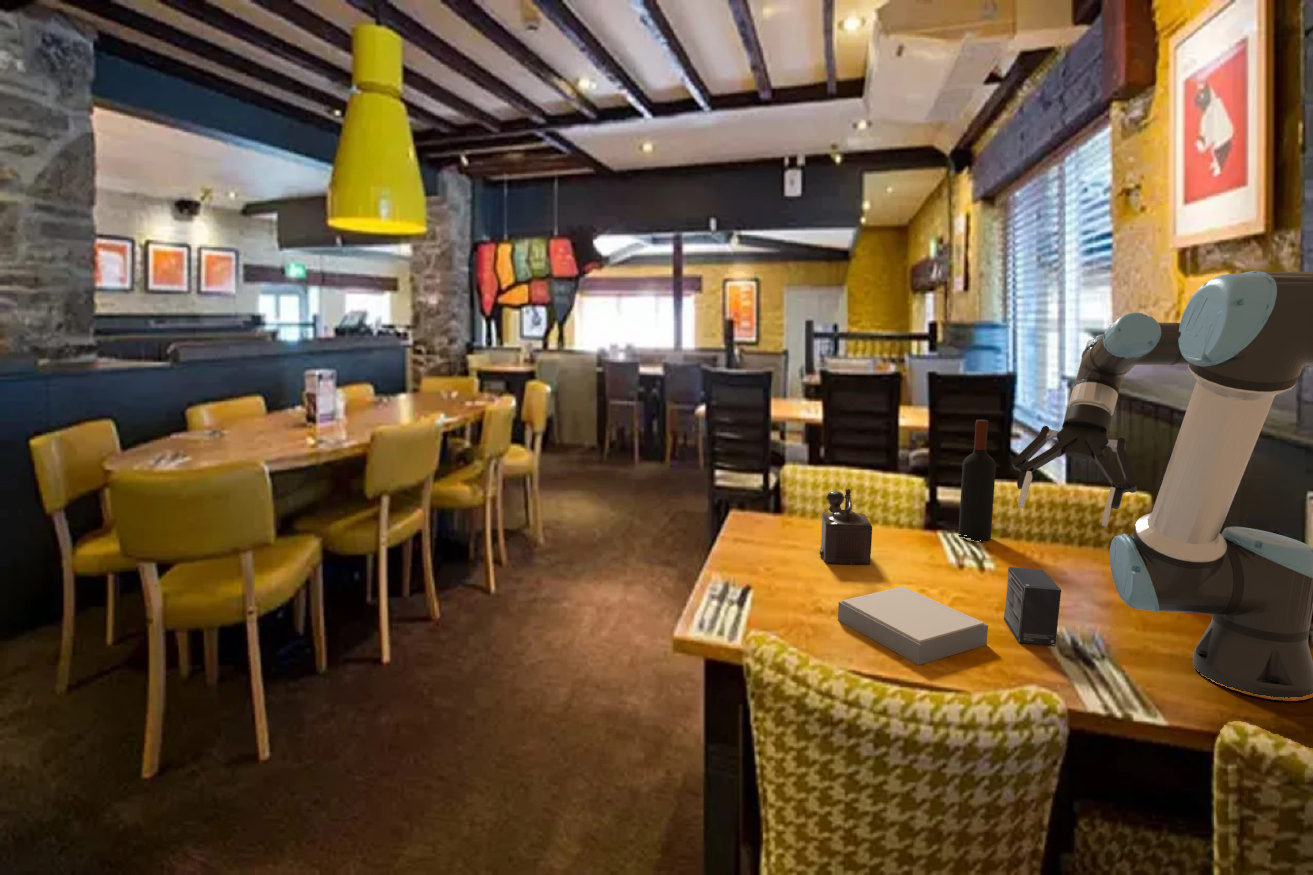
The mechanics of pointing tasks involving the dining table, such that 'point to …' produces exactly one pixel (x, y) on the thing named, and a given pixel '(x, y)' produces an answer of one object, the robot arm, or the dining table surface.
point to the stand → (912, 624)
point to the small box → (1032, 606)
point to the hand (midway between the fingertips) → (1061, 514)
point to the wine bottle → (977, 489)
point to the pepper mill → (845, 533)
